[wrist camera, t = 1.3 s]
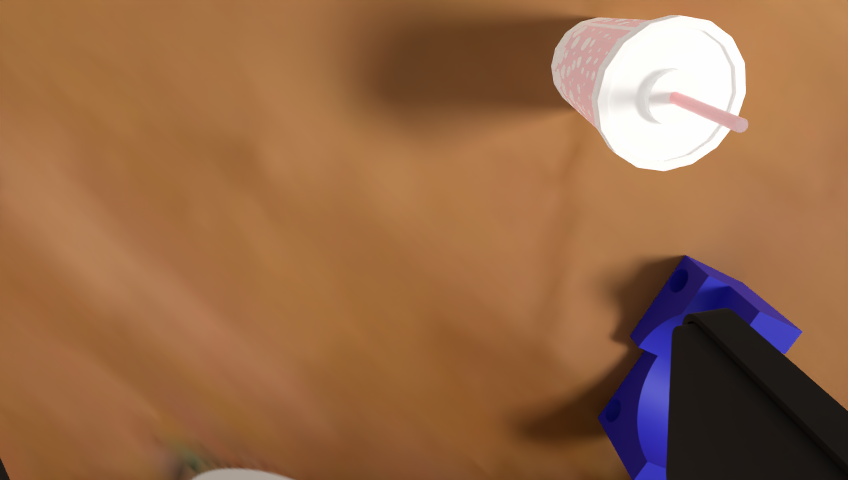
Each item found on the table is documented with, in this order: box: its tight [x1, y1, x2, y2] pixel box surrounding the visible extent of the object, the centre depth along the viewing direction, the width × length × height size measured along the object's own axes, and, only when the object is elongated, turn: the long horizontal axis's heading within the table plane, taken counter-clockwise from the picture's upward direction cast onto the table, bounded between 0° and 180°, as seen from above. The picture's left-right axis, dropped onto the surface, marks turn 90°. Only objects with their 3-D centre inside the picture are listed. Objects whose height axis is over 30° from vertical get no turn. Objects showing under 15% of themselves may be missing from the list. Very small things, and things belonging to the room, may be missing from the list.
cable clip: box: [598, 255, 802, 480], centre depth 40 cm, size 12×4×6 cm, turn 153°
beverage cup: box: [551, 15, 748, 171], centre depth 29 cm, size 6×6×14 cm
